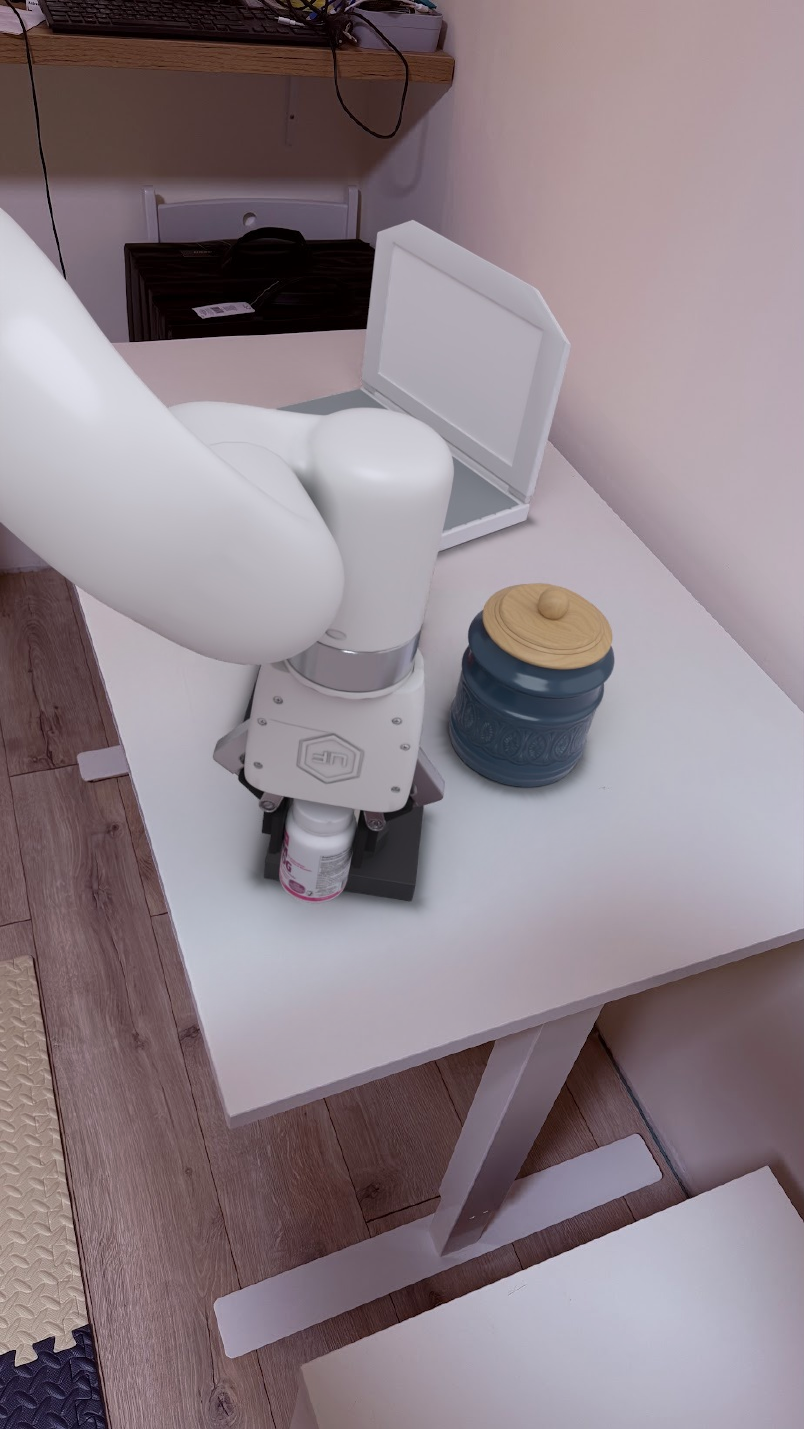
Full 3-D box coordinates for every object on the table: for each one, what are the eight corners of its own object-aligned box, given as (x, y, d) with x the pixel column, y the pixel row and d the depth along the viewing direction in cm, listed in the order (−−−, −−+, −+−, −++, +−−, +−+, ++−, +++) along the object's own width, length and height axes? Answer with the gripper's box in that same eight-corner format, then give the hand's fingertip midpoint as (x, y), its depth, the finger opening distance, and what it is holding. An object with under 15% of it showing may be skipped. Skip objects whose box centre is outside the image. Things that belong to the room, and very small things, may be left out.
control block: (263, 878, 81) (265, 846, 78) (283, 795, 87) (286, 763, 85) (411, 901, 81) (418, 871, 78) (420, 817, 88) (427, 786, 85)
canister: (607, 766, 95) (666, 619, 83) (495, 808, 90) (540, 657, 78) (529, 680, 103) (571, 534, 91) (420, 713, 97) (451, 562, 85)
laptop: (215, 438, 129) (217, 220, 111) (365, 401, 142) (389, 201, 124) (374, 575, 112) (406, 345, 94) (528, 520, 125) (582, 307, 107)
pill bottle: (265, 868, 71) (273, 786, 65) (322, 842, 73) (334, 761, 68) (302, 917, 68) (314, 836, 62) (359, 888, 71) (376, 808, 65)
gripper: (181, 649, 53) (178, 867, 65) (499, 707, 54) (438, 911, 66) (214, 569, 58) (206, 783, 71) (502, 622, 59) (445, 825, 71)
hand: (318, 843), depth 68 cm, fingers closed on pill bottle, 4 cm apart
